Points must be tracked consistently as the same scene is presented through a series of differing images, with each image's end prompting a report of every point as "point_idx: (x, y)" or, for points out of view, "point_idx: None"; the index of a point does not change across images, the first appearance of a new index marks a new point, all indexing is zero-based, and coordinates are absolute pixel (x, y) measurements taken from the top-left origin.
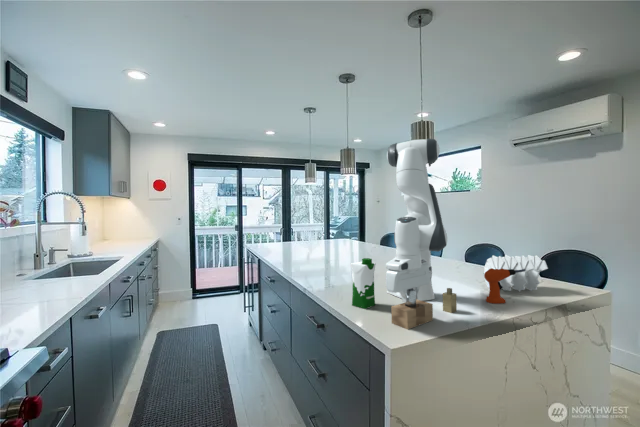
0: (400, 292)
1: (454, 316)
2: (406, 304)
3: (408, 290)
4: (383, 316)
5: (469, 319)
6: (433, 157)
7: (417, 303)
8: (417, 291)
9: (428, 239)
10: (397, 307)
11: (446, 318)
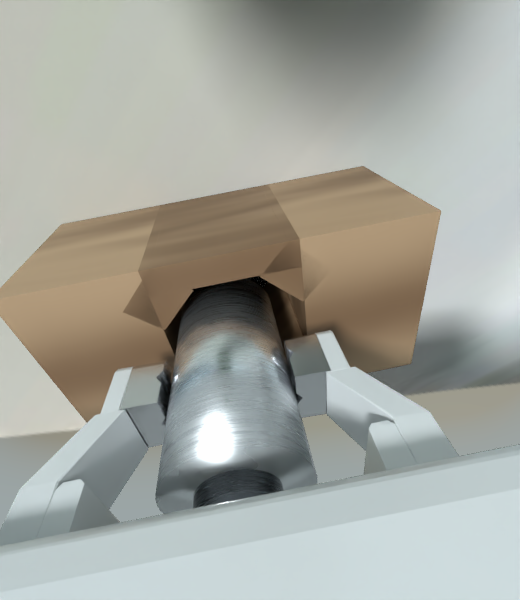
0: (31, 503)
1: (505, 288)
2: (178, 339)
3: (195, 503)
4: (46, 21)
5: (502, 340)
6: None
7: (321, 321)
8: (359, 441)
9: None
10: (52, 344)
11: (444, 294)
